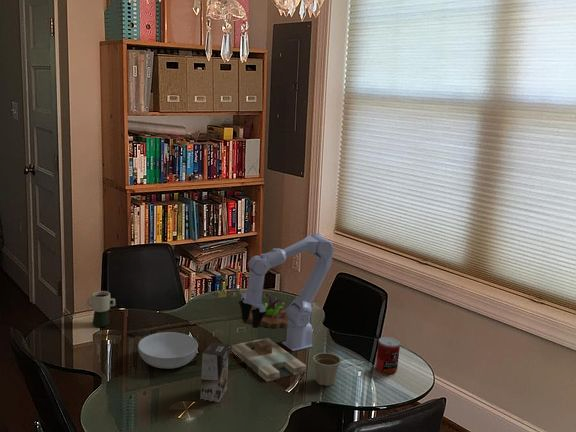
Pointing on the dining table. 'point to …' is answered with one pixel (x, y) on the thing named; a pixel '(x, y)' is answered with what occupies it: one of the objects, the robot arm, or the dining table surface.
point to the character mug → (100, 307)
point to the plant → (272, 314)
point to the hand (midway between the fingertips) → (250, 323)
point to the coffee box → (214, 371)
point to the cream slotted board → (269, 360)
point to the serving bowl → (168, 349)
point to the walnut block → (263, 347)
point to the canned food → (387, 355)
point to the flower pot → (326, 368)
